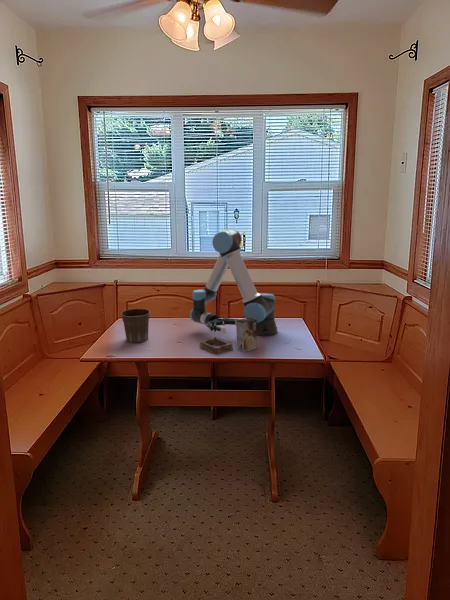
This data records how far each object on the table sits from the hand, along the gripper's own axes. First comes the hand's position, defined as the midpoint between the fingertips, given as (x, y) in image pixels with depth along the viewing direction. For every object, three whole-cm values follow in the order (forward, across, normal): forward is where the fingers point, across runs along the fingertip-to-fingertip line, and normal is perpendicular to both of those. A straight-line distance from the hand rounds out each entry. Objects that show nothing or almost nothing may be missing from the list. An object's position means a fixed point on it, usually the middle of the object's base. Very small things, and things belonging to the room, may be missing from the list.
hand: (234, 328), depth 237 cm
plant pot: (-44, +35, -10) cm, 57 cm away
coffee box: (+9, 0, -10) cm, 13 cm away
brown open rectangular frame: (-3, +11, -10) cm, 15 cm away
